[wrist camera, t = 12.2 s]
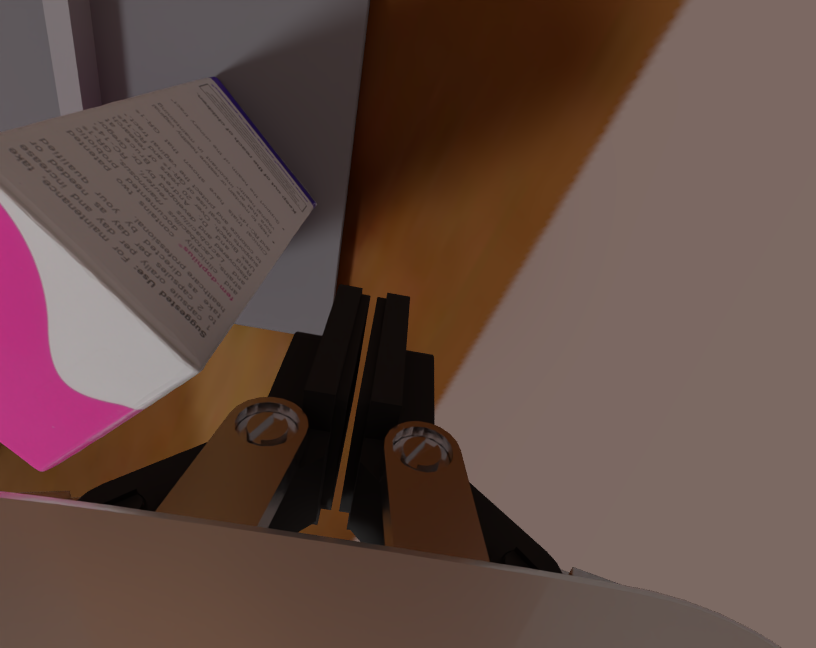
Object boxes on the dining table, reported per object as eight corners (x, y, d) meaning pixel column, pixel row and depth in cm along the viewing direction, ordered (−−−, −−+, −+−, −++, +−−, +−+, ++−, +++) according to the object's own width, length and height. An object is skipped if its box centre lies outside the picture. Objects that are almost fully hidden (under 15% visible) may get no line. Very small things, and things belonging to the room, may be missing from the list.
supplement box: (211, 66, 18) (-48, 134, 8) (321, 204, 20) (219, 382, 11) (106, 162, 20) (-208, 310, 10) (217, 278, 22) (50, 487, 13)
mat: (330, 332, 24) (323, 354, 23) (-93, 261, 23) (-131, 278, 22) (372, -23, 17) (367, -26, 16) (-239, -151, 16) (-311, -168, 14)
